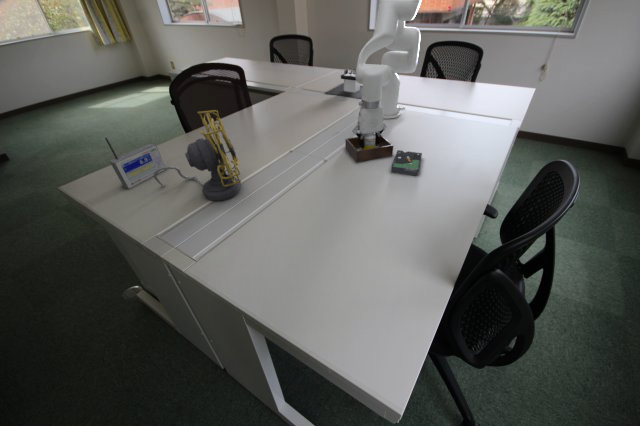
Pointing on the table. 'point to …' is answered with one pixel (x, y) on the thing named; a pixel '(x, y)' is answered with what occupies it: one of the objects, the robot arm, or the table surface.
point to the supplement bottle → (369, 141)
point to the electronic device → (137, 164)
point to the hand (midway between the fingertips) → (368, 145)
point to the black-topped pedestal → (348, 86)
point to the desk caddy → (368, 154)
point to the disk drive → (406, 162)
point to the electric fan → (212, 161)
